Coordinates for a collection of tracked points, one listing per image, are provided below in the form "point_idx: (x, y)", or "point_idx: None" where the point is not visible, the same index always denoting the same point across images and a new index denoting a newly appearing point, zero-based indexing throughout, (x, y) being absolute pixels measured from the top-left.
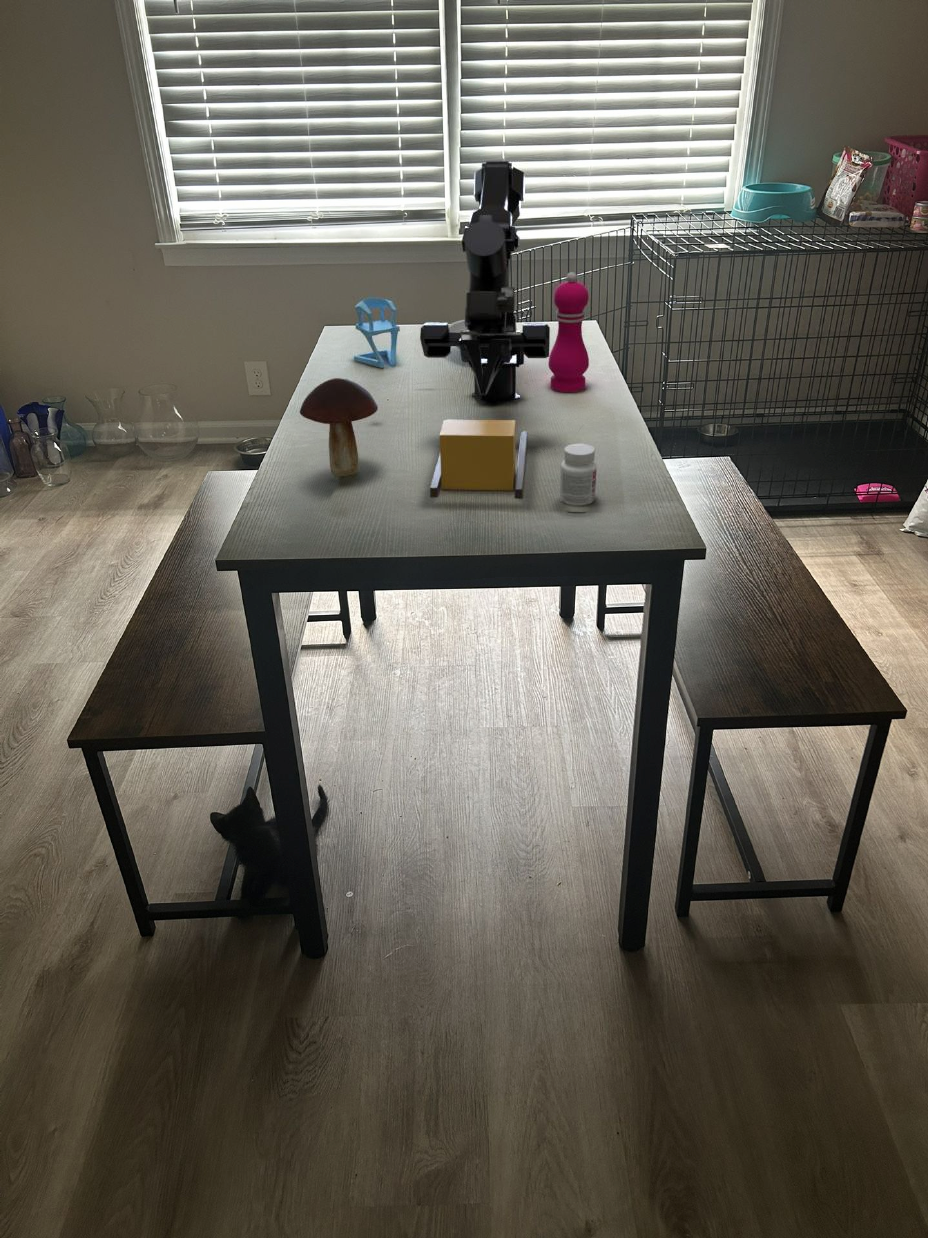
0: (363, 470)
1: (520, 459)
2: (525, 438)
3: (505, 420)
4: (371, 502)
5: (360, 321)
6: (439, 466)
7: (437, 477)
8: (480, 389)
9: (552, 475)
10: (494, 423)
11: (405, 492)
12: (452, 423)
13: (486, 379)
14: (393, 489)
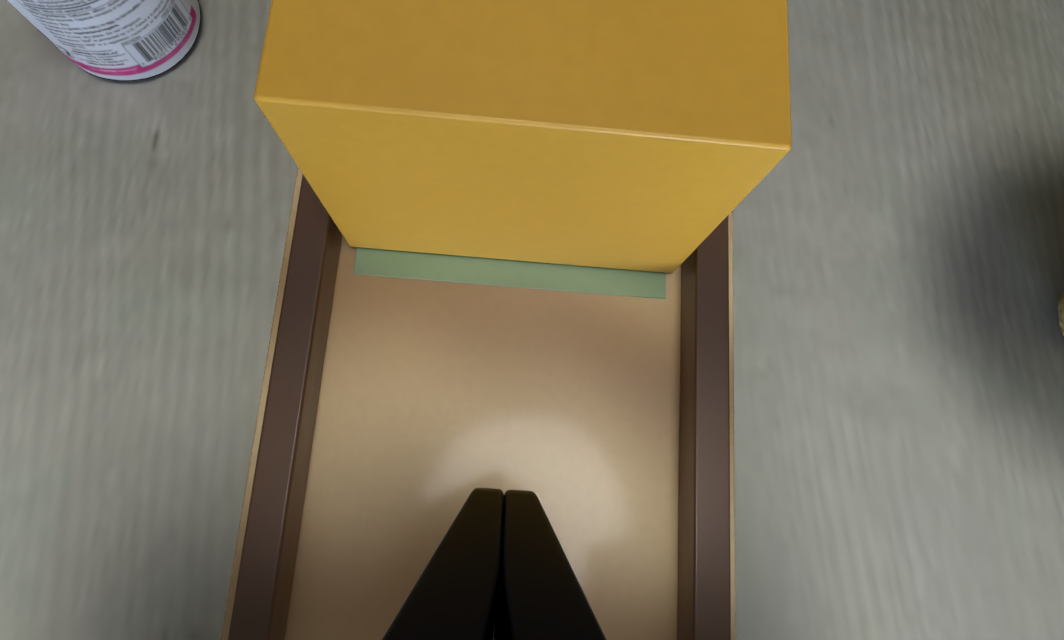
0: (1042, 420)
1: (305, 299)
2: (239, 620)
3: (332, 94)
4: (925, 112)
5: None
6: (713, 233)
7: None
8: (532, 499)
9: (175, 332)
10: (419, 44)
11: (815, 189)
12: (723, 67)
13: (457, 583)
14: (868, 219)
